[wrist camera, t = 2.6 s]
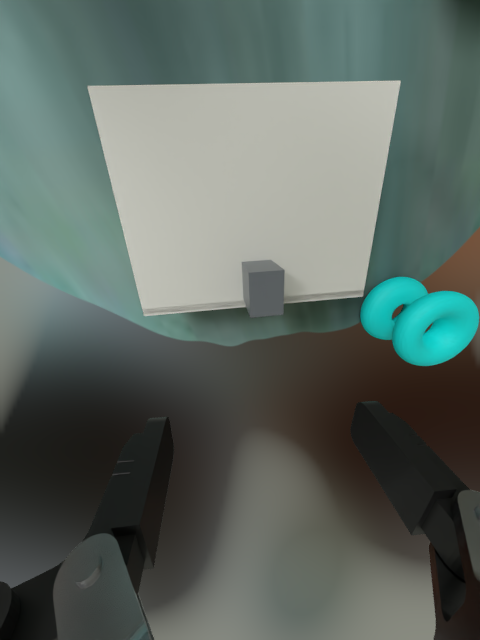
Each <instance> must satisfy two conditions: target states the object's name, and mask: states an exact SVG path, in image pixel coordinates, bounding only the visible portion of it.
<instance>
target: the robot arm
mask: <svg viewBox="0 0 480 640" xmlns="http://www.w3.org/2000/svg"><path fill="white" fill-rule="evenodd" d="M351 436H352V439H353V442H354V444H355V445H356V447H357V448H358V450H359V452H360V453H361V455H362V456H363V458H364V460H365V461H366V463H367V464H368V466H369V468H370V469H371V471H372V473H373V474H374V475H375V477H376V479H377V481H378V482H379V484H380V485H381V487H382V489H383V490H384V491H385V493H386V495H387V497H388V498H389V500H390V501H391V503H392V504H393V506H394V508H395V509H396V511H397V512H398V514H399V516H400V517H401V519H402V521H403V522H404V524H405V526H406V527H407V528H408V530H409V532H410V534H411V535H417V534H426V536H427V537H428V539H429V540H430V543H429V557H430V567H431V577H432V587H433V597H434V606H435V617H436V629H435V635H434V640H480V492H477V491H473V490H470V489H469V488H468V487H467V486H466V485H465V484H464V483H463V482H462V481H461V480H460V479H459V478H458V477H457V476H456V475H455V474H454V473H453V471H452V470H451V469H450V468H449V467H448V466H447V465H446V464H445V463H444V462H443V461H442V460H441V459H440V458H439V457H438V456H437V455H436V454H435V452H434V451H433V450H432V449H431V448H430V447H429V446H427V445H426V443H425V442H424V441H423V440H422V439H421V438H420V437H419V436H417V433H416V432H415V431H414V430H413V429H412V428H411V427H410V426H409V425H408V424H407V423H406V422H405V421H403V420H402V419H400V418H399V417H398V416H396V415H394V414H393V413H389V412H388V411H387V410H386V409H385V408H384V407H383V406H382V405H381V404H380V403H379V402H377V401H370V402H359V403H357V405H356V408H355V413H354V417H353V420H352V424H351ZM173 455H174V443H173V437H172V431H171V425H170V420H169V417H161V418H149V419H148V421H147V424H146V427H145V430H144V433H140V434H134V435H133V436H132V437H131V438H130V440H129V441H128V442H127V443H126V444H125V446H124V447H123V449H122V452H121V454H120V456H119V459H118V463H117V464H116V466H115V469H114V471H113V475H112V477H111V478H110V481H109V483H108V486H107V488H106V491H105V493H104V496H103V498H102V501H101V503H100V505H99V508H98V510H97V513H96V515H95V518H94V520H93V523H92V525H91V527H90V530H89V532H88V533H87V535H86V537H85V539H84V540H83V541H82V542H81V543H80V544H79V545H78V546H77V547H76V548H75V549H74V550H73V551H72V552H71V553H70V554H69V555H68V557H67V558H66V559H65V560H64V561H63V562H62V563H60V564H59V565H57V566H56V567H54V568H52V569H50V570H48V571H46V572H44V573H42V574H40V575H39V576H36V577H34V578H32V579H30V580H28V581H26V582H24V583H22V584H20V585H18V586H16V587H14V588H12V589H11V588H10V587H9V586H8V584H6V583H4V582H0V640H154V637H153V635H152V631H151V629H150V626H149V623H148V620H147V617H146V614H145V611H144V608H143V605H142V603H141V600H140V597H139V594H138V592H139V586H140V582H141V577H142V572H143V570H144V569H152V568H154V563H155V558H156V552H157V546H158V541H159V535H160V529H161V523H162V519H163V512H164V507H165V502H166V496H167V491H168V485H169V479H170V474H171V468H172V463H173Z"/></svg>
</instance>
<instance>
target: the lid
mask: <svg viewBox="0 0 480 640" xmlns="http://www.w3.org/2000/svg"><path fill="white" fill-rule="evenodd" d="M400 82H401V81H355V82H295V83H235V84H175V85H115V86H87V87H88V91H89V95H90V99H91V103H92V107H93V111H94V115H95V119H96V123H97V127H98V131H99V135H100V139H101V143H102V148H103V152H104V156H105V160H106V164H107V168H108V172H109V176H110V180H111V184H112V188H113V192H114V196H115V200H116V204H117V208H118V212H119V216H120V220H121V225H122V229H123V233H124V237H125V241H126V245H127V249H128V253H129V257H130V261H131V265H132V269H133V273H134V277H135V281H136V285H137V289H138V293H139V297H140V301H141V306H142V310H143V314H144V316H150V315H161V314H172V313H184V312H195V311H206V310H217V309H229V308H240V307H246V308H247V310H248V313H249V316H250V318H253V317H264V316H275V315H283V312H284V304H285V303H296V302H307V301H318V300H330V299H341V298H352V297H363V293H364V287H365V282H366V276H367V270H368V265H369V259H370V253H371V248H372V242H373V236H374V230H375V225H376V219H377V213H378V208H379V202H380V196H381V191H382V185H383V179H384V173H385V168H386V162H387V156H388V151H389V145H390V139H391V134H392V128H393V122H394V117H395V111H396V105H397V99H398V94H399V88H400Z"/></svg>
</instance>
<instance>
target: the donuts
mask: <svg viewBox="0 0 480 640" xmlns="http://www.w3.org/2000/svg"><path fill="white" fill-rule="evenodd" d="M402 304H403V308H402V310H401V312H400V313H399V314H398V315H397V316H396V317H395V318H393V319H392V314H393V312H394V310H395V309H396V308H397V307H398V306H400V305H402ZM360 318H361V323H362V326H363V327H364V329H365V330H366V332H368V333H369V334H370V335H371V336H373V337H375V338H378V339H383V340H392V343H393V346H394V349H395V351H396V353H397V354H398V355H399V356H400V357H401V358H402V359H403V360H405V361H406V362H408V363H411V364H414V365H419V366H431V365H436V364H440V363H442V362H445V361H447V360H449V359H451V358H453V357H454V356H456V355H457V354H458V353H460V352H461V351H462V350H463V349H464V348H465V347H466V346H467V345H468V344H469V343H470V341H471V340H472V338H473V337H474V335H475V333H476V331H477V327H478V324H479V313H478V309H477V307H476V305H475V304H474V302H473V301H472V300H471V299H470V298H468V297H467V296H465V295H463V294H461V293H458V292H453V291H439V292H434V293H430V294H428V293H427V290H426V289H425V287H424V286H423V285H422V284H421V283H420V282H419V281H417V280H415V279H412V278H409V277H395V278H391V279H388V280H386V281H384V282H382V283H380V284H378V285H377V286H376V287H375V288H373V289H372V290H371V291H370V293H369V294H368V295H367V296H366V298H365V300H364V302H363V304H362V307H361V312H360ZM431 323H433V325H432V326H431V328H430V329H429V330H428V331H427V332H425V330H426V329H427V328H428V326H429V325H430V324H431ZM424 332H425V333H424Z"/></svg>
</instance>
